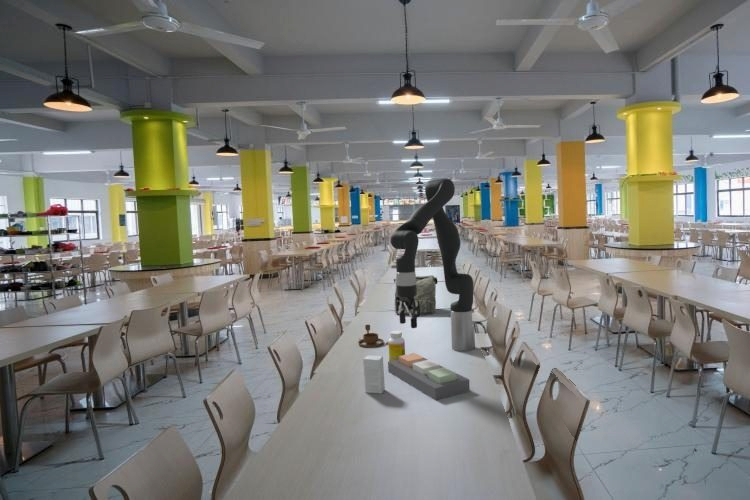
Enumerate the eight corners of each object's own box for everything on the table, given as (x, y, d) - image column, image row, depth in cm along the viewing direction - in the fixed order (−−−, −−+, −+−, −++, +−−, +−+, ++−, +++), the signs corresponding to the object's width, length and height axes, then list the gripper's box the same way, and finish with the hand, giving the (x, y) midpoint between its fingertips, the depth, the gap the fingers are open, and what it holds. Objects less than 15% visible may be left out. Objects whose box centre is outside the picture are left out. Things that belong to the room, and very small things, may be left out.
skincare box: (385, 389, 164) (383, 356, 163) (381, 394, 160) (379, 360, 159) (368, 388, 166) (367, 355, 165) (364, 392, 162) (362, 359, 161)
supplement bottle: (404, 365, 187) (402, 334, 186) (388, 365, 188) (386, 334, 187) (406, 360, 193) (405, 330, 192) (390, 360, 195) (389, 330, 194)
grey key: (428, 367, 174) (428, 359, 174) (439, 373, 168) (439, 364, 168) (412, 371, 171) (412, 363, 171) (423, 377, 165) (422, 368, 165)
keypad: (419, 364, 187) (418, 355, 187) (469, 390, 159) (469, 379, 159) (388, 371, 181) (387, 361, 181) (435, 400, 153) (434, 388, 152)
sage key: (444, 375, 165) (444, 367, 165) (456, 381, 159) (456, 373, 159) (427, 379, 162) (427, 371, 162) (439, 386, 156) (439, 377, 156)
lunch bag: (438, 308, 289) (437, 273, 287) (437, 314, 271) (436, 277, 269) (396, 308, 293) (395, 274, 291) (393, 315, 275) (391, 278, 273)
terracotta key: (414, 360, 183) (414, 352, 183) (424, 365, 177) (424, 357, 177) (399, 363, 180) (398, 356, 180) (408, 369, 174) (408, 361, 174)
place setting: (348, 347, 218) (347, 335, 217) (365, 335, 236) (365, 324, 235) (383, 350, 211) (382, 337, 210) (398, 338, 229) (397, 326, 229)
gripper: (424, 284, 172) (426, 327, 173) (405, 280, 184) (407, 320, 186) (407, 287, 168) (409, 331, 170) (388, 282, 181) (390, 323, 182)
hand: (408, 325), depth 178 cm, fingers open, 8 cm apart
